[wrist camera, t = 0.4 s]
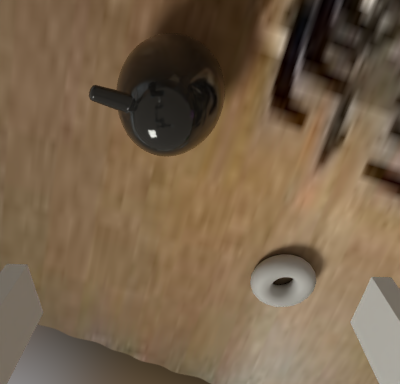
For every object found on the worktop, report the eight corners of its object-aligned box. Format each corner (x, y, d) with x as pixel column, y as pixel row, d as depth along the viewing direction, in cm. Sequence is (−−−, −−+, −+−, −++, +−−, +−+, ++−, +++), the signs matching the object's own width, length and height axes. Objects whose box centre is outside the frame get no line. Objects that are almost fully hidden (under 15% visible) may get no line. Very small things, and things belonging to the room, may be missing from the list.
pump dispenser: (146, 9, 30) (106, 12, 17) (239, 58, 33) (264, 93, 20) (115, 103, 35) (64, 160, 22) (197, 140, 38) (195, 212, 25)
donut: (250, 296, 52) (310, 292, 52) (252, 313, 49) (316, 310, 49) (248, 251, 47) (315, 246, 46) (250, 268, 44) (322, 263, 43)
